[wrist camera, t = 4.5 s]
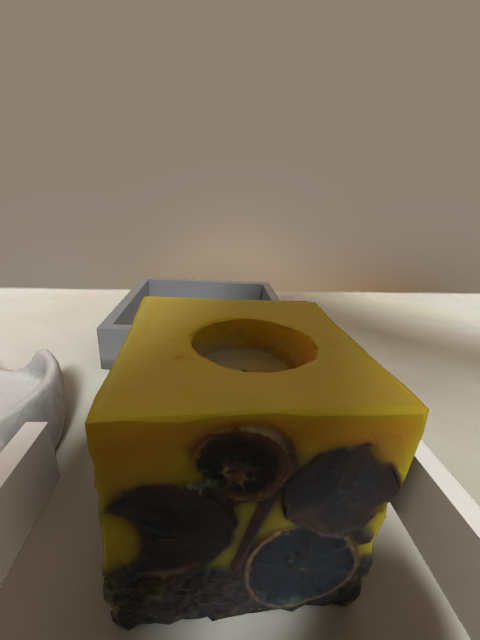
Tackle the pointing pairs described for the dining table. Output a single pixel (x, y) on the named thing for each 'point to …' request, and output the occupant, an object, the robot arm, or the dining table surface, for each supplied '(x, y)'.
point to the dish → (32, 397)
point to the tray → (123, 315)
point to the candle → (243, 460)
